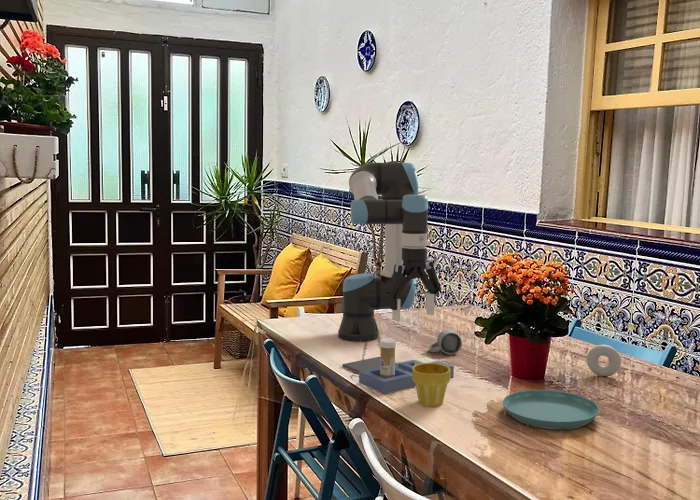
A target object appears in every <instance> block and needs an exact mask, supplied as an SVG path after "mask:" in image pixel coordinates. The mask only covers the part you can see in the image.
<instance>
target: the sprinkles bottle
mask: <svg viewBox="0 0 700 500" xmlns="http://www.w3.org/2000/svg"><path fill="white" fill-rule="evenodd" d="M396 345H397V343H396V340H395V339H393V338H383V339H380V340H379V347H380V357H381V359H380V377H382V378H384V379H387V378H392V377H395V363H396Z"/></svg>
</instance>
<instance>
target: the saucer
mask: <svg viewBox="0 0 700 500" xmlns="http://www.w3.org/2000/svg"><path fill="white" fill-rule="evenodd" d="M502 405H503V408H504V410H505V411H506V412H507V413H508V414H509V415H510V416H511V417H512V418H514V419H515V420H516V421H518V422H520V423H522V424H524V423H525V425H527V424H528V425H527V426H530V425H531V426H530V427H534V426H536V427H535V428H539V427H541V428H540V429H545V428H548V429H547V430H557V429H564V430H573V429H572V428H574V429H578V428H582V427H583V426H585V425H588V424H590V423H591V422H592V421H594V419H595V418H596V417H597V416H598V414H599V413H600V407H599V406H598V404H597V403H596V402H594V401H592V400H591V399H589V398H587V397H584V396H581V395H579V394H575V393H571V392H565V391H560V390H548V389H531V390H523V391H522V390H521V391H516V392H513V393H510V394H508V395H506V396H505V397H504V398H503V399H502Z"/></svg>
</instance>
